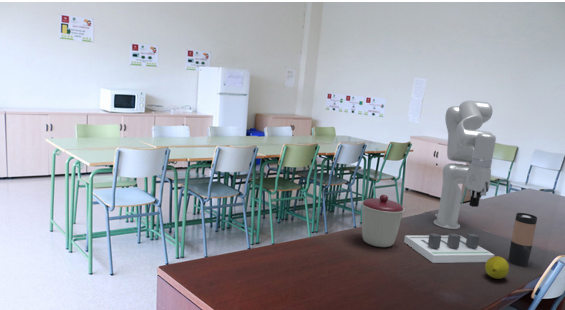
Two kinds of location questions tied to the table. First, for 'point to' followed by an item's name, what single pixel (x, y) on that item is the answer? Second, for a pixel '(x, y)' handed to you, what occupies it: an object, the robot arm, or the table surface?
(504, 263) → the lemon
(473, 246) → the block
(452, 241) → the block
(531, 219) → the travel mug
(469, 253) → the breaker panel
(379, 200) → the canister
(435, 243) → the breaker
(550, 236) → the table surface
